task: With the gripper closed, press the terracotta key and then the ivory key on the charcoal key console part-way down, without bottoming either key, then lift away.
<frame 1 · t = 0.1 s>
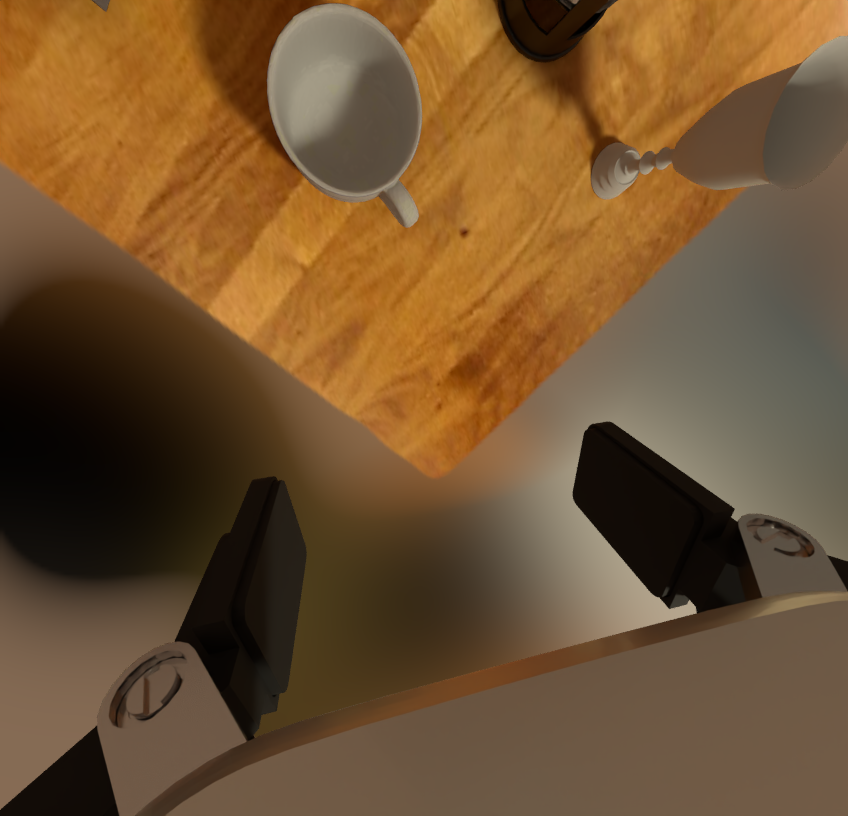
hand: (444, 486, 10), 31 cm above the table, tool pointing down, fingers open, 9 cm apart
chalice: (611, 172, 36), on the table
teacup: (357, 158, 31), on the table
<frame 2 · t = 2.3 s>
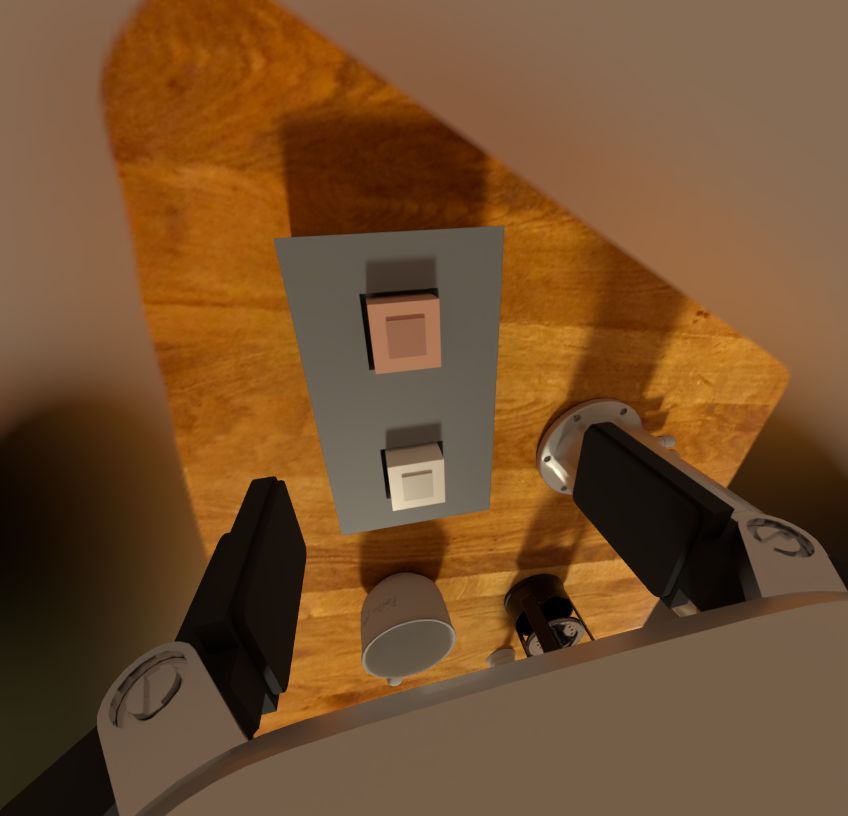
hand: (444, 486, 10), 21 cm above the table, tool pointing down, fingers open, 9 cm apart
key ivory: (415, 474, 28), point 7 cm above the table, slide at 0.0 cm
chalice: (500, 656, 57), on the table
key console: (399, 379, 31), on the table
french press: (531, 592, 50), on the table
teacup: (396, 594, 45), on the table
key terracotta: (403, 332, 22), point 7 cm above the table, slide at 0.0 cm
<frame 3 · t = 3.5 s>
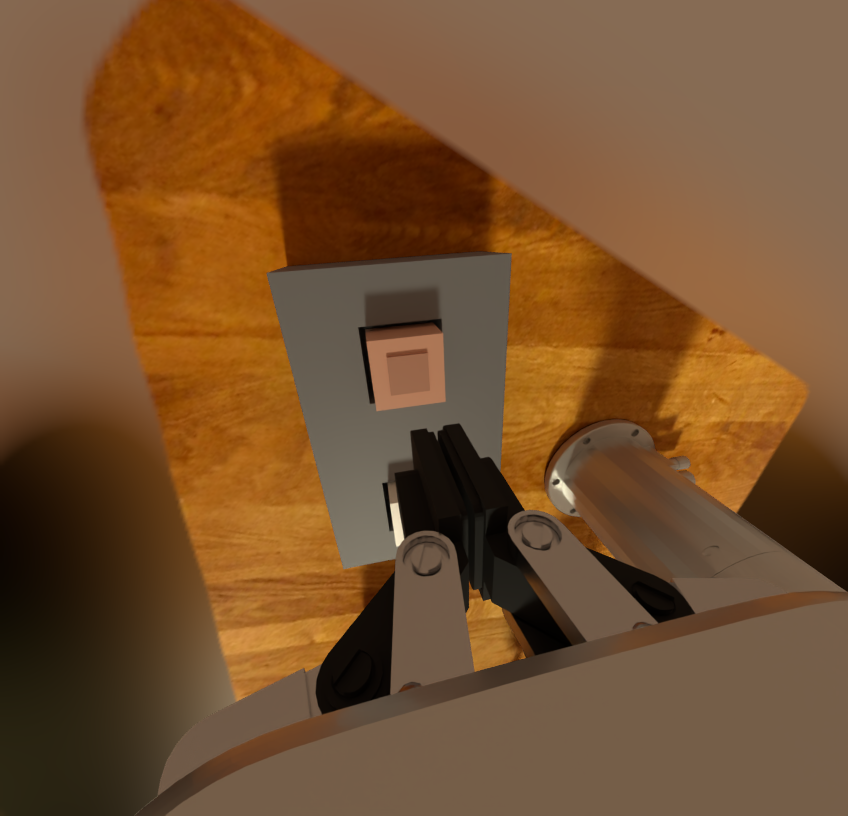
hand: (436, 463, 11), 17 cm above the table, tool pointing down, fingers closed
key ivory: (418, 507, 26), point 7 cm above the table, slide at 0.0 cm
key console: (402, 405, 30), on the table
key terracotta: (405, 366, 21), point 7 cm above the table, slide at 0.0 cm
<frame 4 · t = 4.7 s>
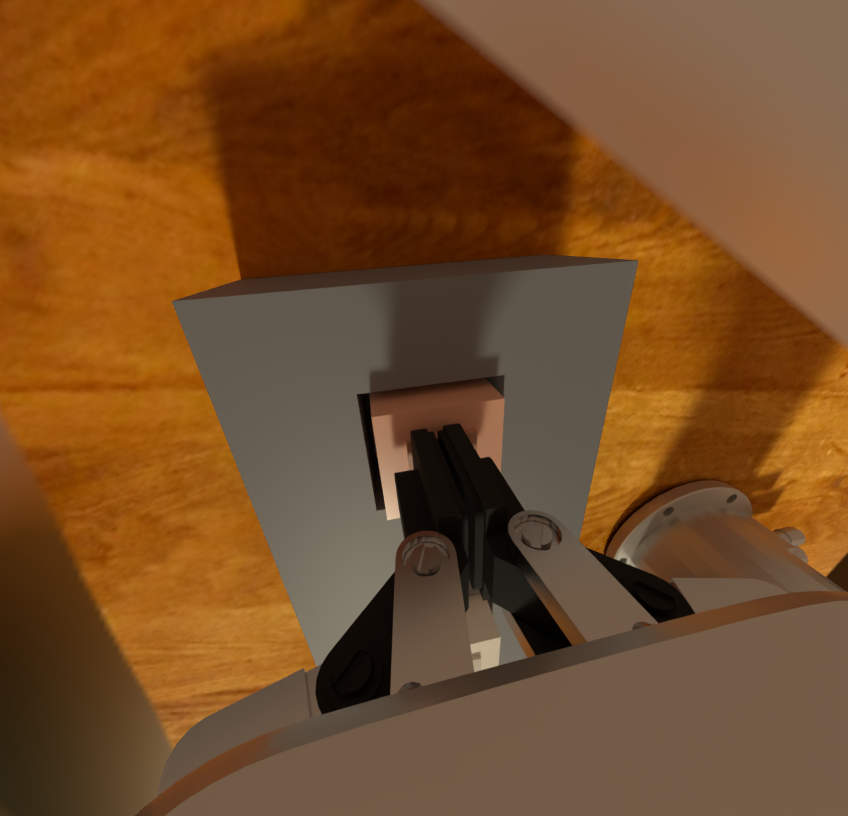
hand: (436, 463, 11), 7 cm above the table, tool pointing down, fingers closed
key ivory: (449, 642, 18), point 7 cm above the table, slide at 0.0 cm
key console: (420, 475, 21), on the table
key terracotta: (434, 442, 13), point 6 cm above the table, slide at 1.0 cm, touching gripper
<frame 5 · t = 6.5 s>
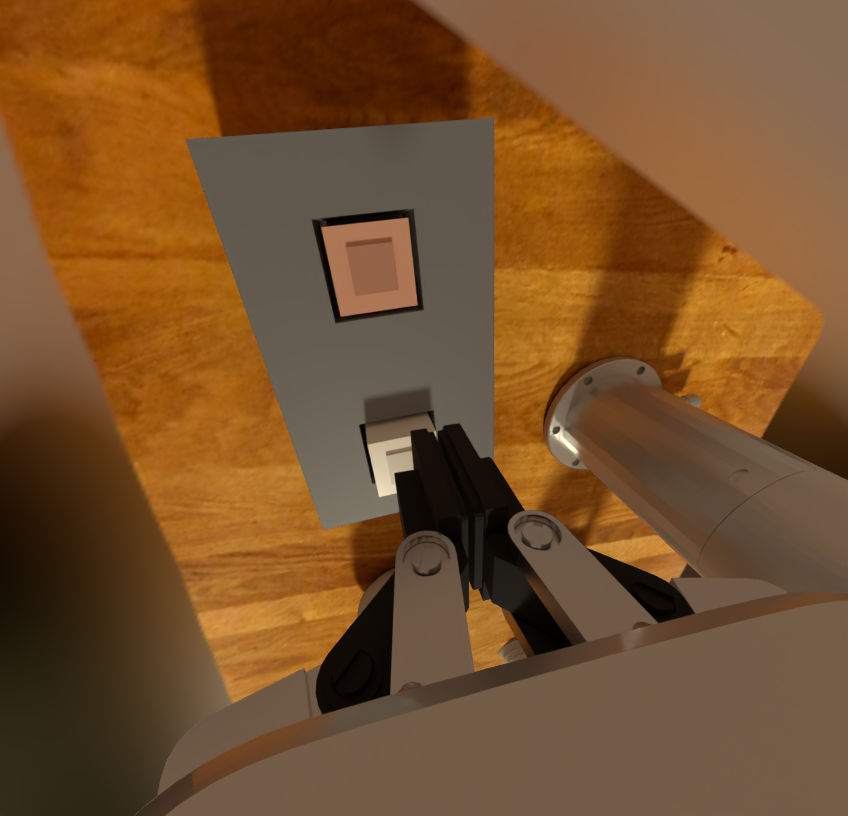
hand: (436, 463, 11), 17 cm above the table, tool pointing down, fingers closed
key ivory: (403, 453, 23), point 7 cm above the table, slide at 0.0 cm
chalice: (513, 647, 53), on the table
key console: (380, 343, 26), on the table
teacup: (397, 590, 41), on the table
key terracotta: (371, 267, 19), point 5 cm above the table, slide at 1.7 cm
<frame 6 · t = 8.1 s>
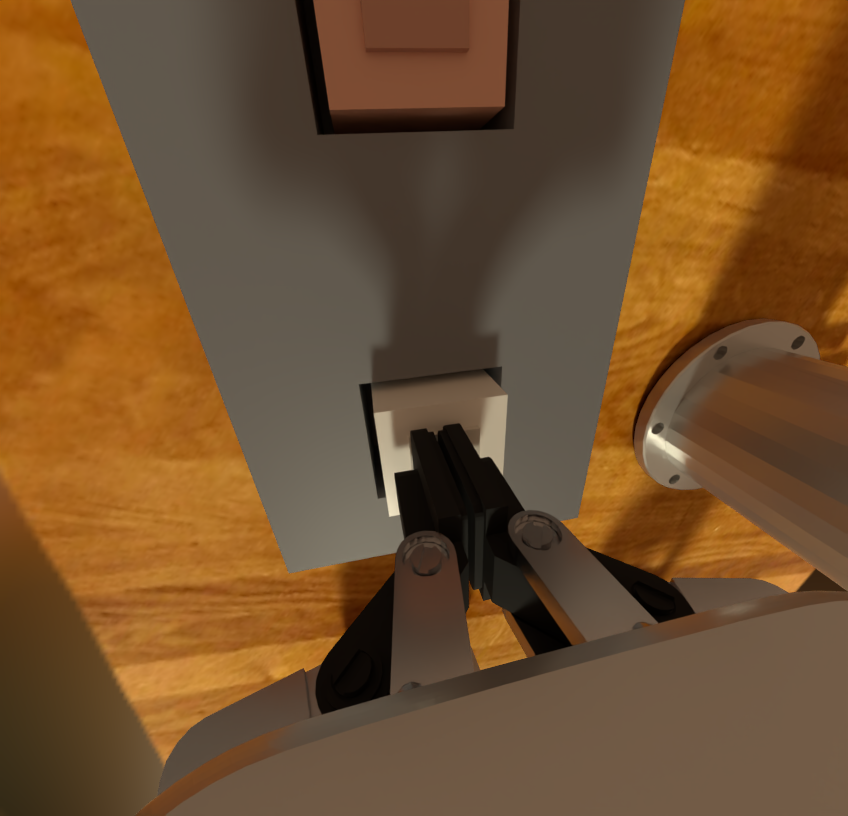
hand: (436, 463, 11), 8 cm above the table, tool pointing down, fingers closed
key ivory: (436, 438, 13), point 6 cm above the table, slide at 0.5 cm, touching gripper
key console: (403, 261, 15), on the table
key terracotta: (405, 14, 8), point 5 cm above the table, slide at 1.7 cm
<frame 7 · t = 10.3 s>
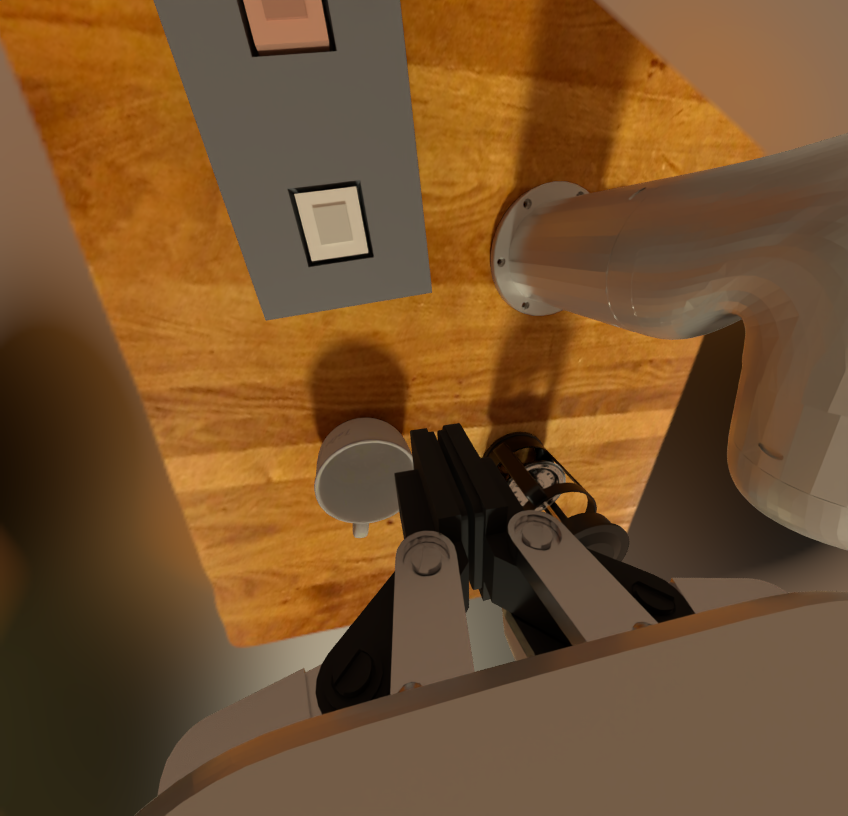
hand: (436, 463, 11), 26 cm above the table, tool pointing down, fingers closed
key ivory: (333, 225, 26), point 5 cm above the table, slide at 1.7 cm
chalice: (487, 541, 54), on the table
key console: (317, 146, 27), on the table
french press: (510, 457, 47), on the table
teacup: (361, 454, 42), on the table
key terracotta: (284, 5, 20), point 5 cm above the table, slide at 1.7 cm
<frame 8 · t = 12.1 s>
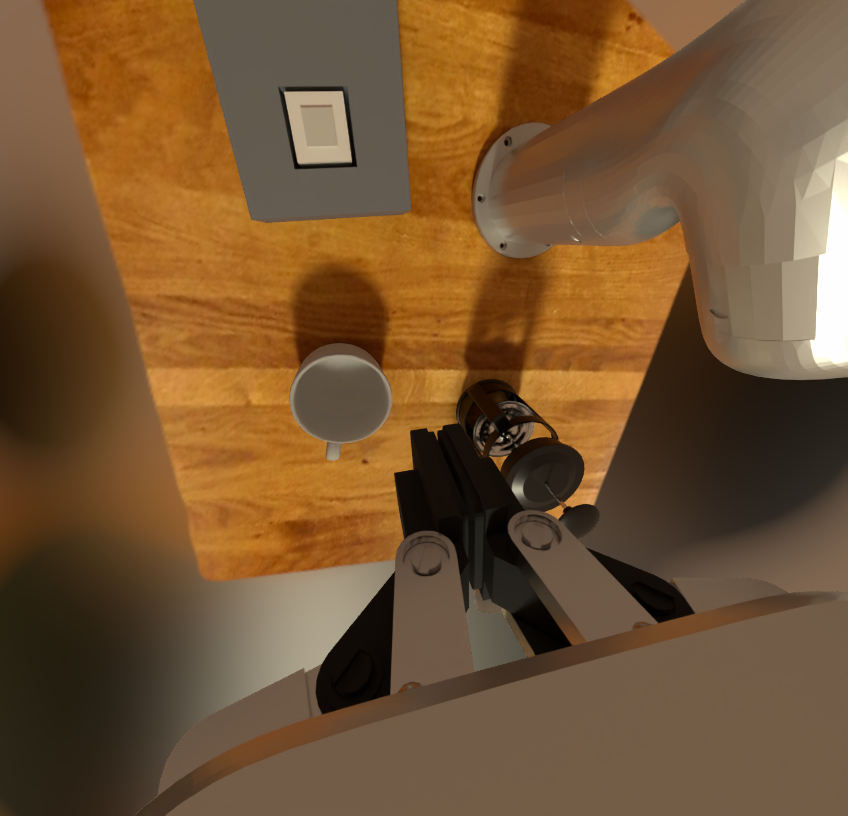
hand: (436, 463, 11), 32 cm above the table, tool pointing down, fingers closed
key ivory: (321, 132, 28), point 5 cm above the table, slide at 1.7 cm
chalice: (459, 493, 56), on the table
key console: (311, 62, 29), on the table
french press: (484, 405, 49), on the table
teacup: (340, 386, 43), on the table
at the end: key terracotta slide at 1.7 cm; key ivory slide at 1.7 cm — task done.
